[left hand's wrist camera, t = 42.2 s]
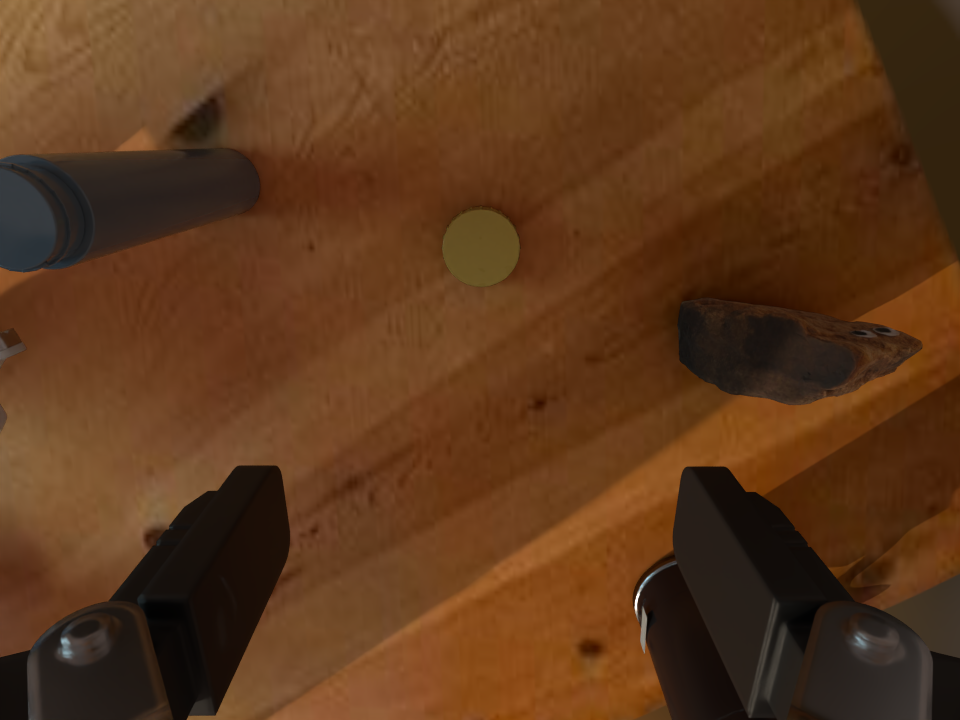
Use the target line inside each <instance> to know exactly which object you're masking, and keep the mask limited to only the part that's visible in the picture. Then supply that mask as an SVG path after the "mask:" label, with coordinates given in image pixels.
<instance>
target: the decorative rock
mask: <svg viewBox="0 0 960 720" xmlns="http://www.w3.org/2000/svg"><path fill="white" fill-rule="evenodd" d="M678 330H679V356H680V362H681V363H683V364H685V365H686V366H687V368H688V369H689V370H690V371H692V372H693V373H694V374H695V375H697V376H698V377H699V378H701V379H703V380H704V381H705V382H708V383H712V384H715V385H716V386H717V387H718V388H719V389H720V390H722V391H724V392H727V393H729V394H733V395H745V396H752V397H761V398H768V399H772V400H775V401H777V402H781V403H784V404H788V405H803V404H809V403H812V402H814V401H816V400H818V399H822V398H825V397H830V396H840V395H843V394H846V393H850V392H853V391H855V390H857V389H859V387H860V386H861V385H864V384H865V383H866V382H868V381H871V380H873V379H875V378H877V377H882V376H885V375H887V374H890V373H892V372H895V370H896V368H897V367H898V366H900V365H901V364H902V363H903V362H904V361H905V360H907V359H908V358H910V357H911V356H913V355H914V354H916V353H917V352H918V351H920V350H921V349H922V342H921V341H920V340H918V339H916V338H914V337H911V336H909V335H907V334H905V333H903V332H900V331H897V330H893V329H891V328H889V327H886V326H883V325H878V324H872V323H866V322H858V321H856V322H847V321H841V320H839V319H836V318H833V317H830V316H827V315H823V314H818V313H813V312H805V311H799V310H791V309H786V308H781V307H773V306H765V305H753V304H747V303H741V302H733V301H724V300H719V299H713V298H700V299H695V300H689V301H684V302H682V303H681V307H680V312H679V318H678Z"/></svg>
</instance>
